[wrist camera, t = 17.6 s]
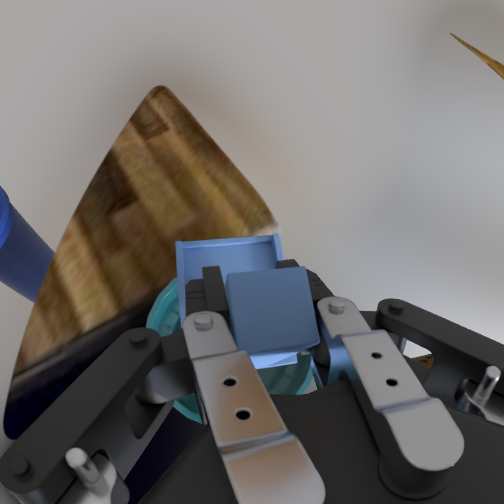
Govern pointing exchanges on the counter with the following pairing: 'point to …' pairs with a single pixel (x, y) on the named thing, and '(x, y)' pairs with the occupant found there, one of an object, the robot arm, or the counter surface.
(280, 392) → the teal ribbed bowl
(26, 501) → the robot arm
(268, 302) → the blue base with post
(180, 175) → the counter surface
